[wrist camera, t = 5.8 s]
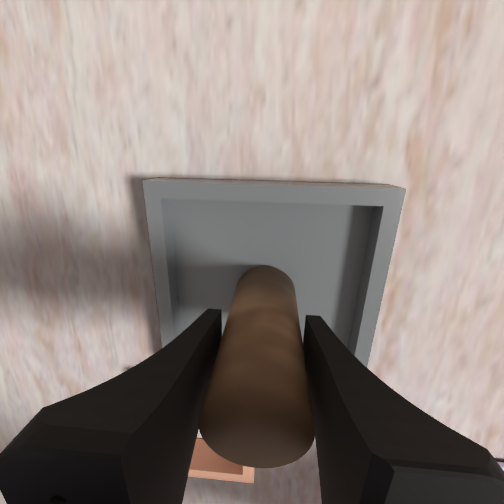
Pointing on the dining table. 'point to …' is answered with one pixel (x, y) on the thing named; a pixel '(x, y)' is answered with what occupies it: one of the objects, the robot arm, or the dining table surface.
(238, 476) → the collar
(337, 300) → the tray
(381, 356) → the dining table surface
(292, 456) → the dowel
